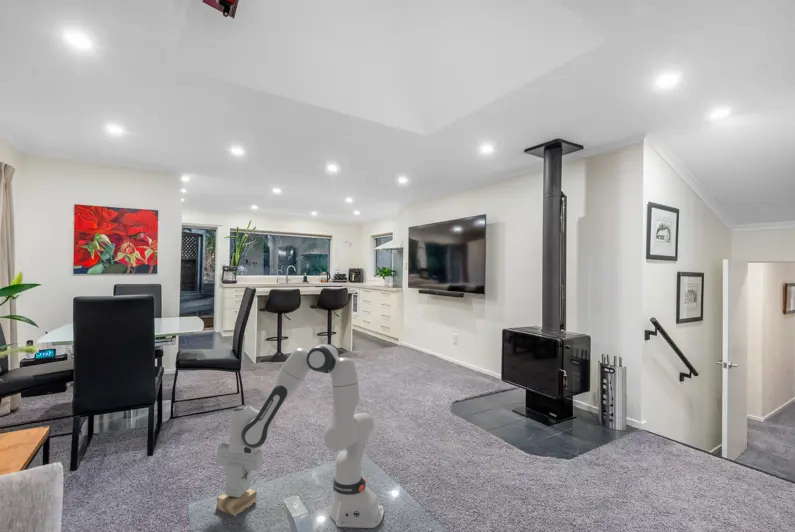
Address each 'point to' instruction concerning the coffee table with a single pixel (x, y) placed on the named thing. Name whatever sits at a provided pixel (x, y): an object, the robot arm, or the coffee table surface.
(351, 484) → the robot arm
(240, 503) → the oak riser block
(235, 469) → the supplement box
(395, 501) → the coffee table surface
